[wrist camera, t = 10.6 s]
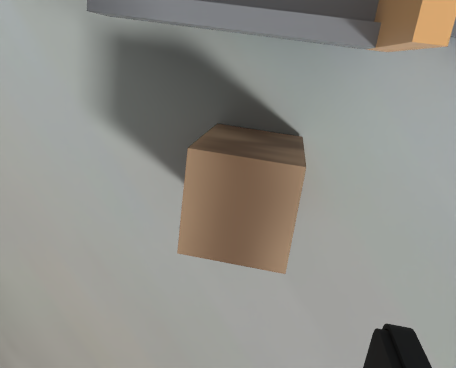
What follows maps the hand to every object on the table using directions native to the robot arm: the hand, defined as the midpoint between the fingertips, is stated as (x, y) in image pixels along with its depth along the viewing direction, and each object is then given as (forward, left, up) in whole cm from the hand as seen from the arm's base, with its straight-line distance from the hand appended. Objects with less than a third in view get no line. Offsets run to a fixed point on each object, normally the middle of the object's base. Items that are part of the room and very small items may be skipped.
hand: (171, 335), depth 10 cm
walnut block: (-1, 0, -15) cm, 15 cm away
